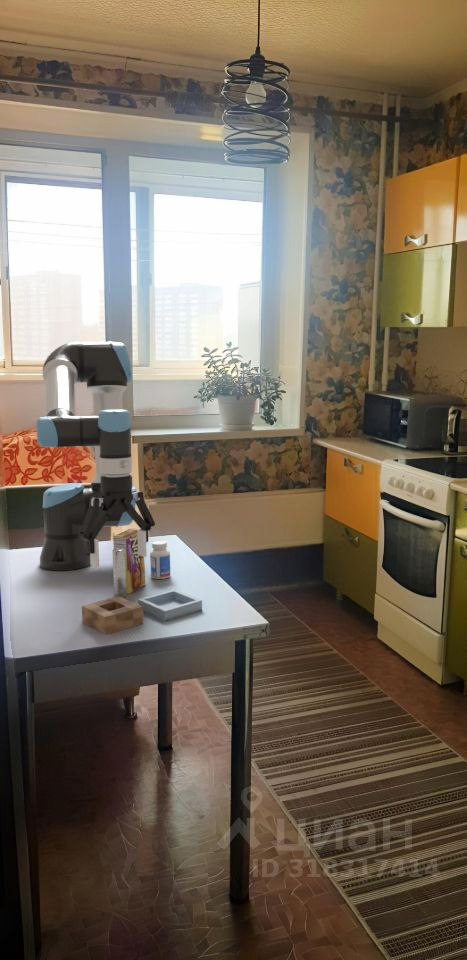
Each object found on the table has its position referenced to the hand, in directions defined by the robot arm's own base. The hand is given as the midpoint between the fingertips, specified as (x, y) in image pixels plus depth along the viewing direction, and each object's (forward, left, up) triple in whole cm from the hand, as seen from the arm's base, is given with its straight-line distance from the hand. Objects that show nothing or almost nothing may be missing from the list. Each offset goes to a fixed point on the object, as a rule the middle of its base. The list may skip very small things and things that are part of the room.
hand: (119, 560), depth 179 cm
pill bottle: (-12, +21, -12) cm, 27 cm away
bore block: (+9, -8, -11) cm, 16 cm away
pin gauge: (0, 0, -11) cm, 11 cm away
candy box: (-9, +9, -12) cm, 18 cm away
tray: (+11, +7, -11) cm, 17 cm away
